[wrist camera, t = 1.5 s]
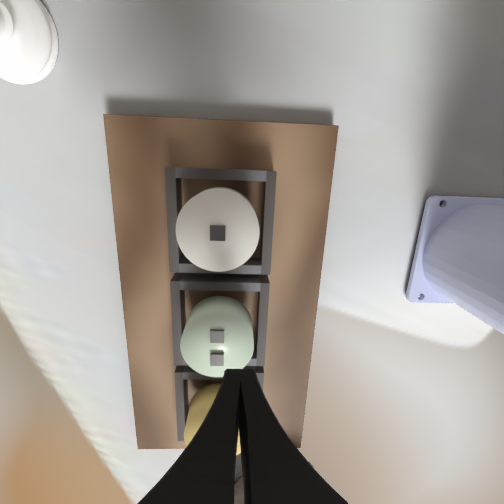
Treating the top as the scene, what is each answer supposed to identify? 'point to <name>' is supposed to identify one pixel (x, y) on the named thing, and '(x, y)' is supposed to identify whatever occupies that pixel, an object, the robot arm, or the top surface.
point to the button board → (210, 282)
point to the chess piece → (26, 41)
